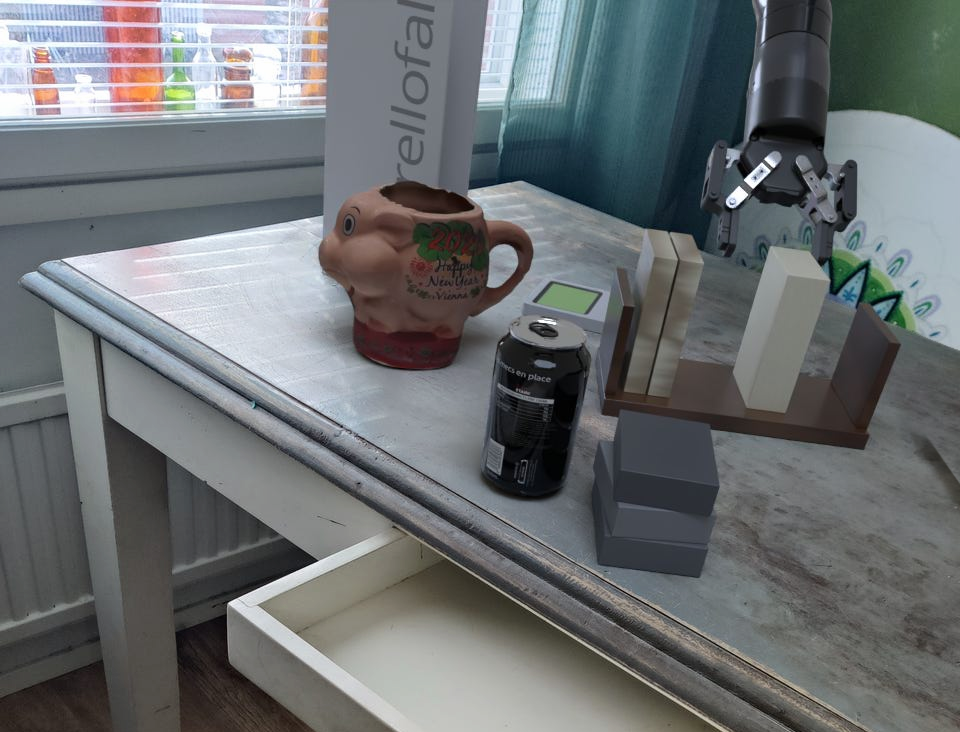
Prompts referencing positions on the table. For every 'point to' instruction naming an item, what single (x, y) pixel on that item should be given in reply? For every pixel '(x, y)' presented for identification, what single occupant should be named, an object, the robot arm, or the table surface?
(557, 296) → the handheld gaming console
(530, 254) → the pig-shaped ceramic mug
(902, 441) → the table surface
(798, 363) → the tall beige pillar
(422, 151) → the white lettered box
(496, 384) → the beverage can
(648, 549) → the stacked grey blocks
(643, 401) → the book rack
